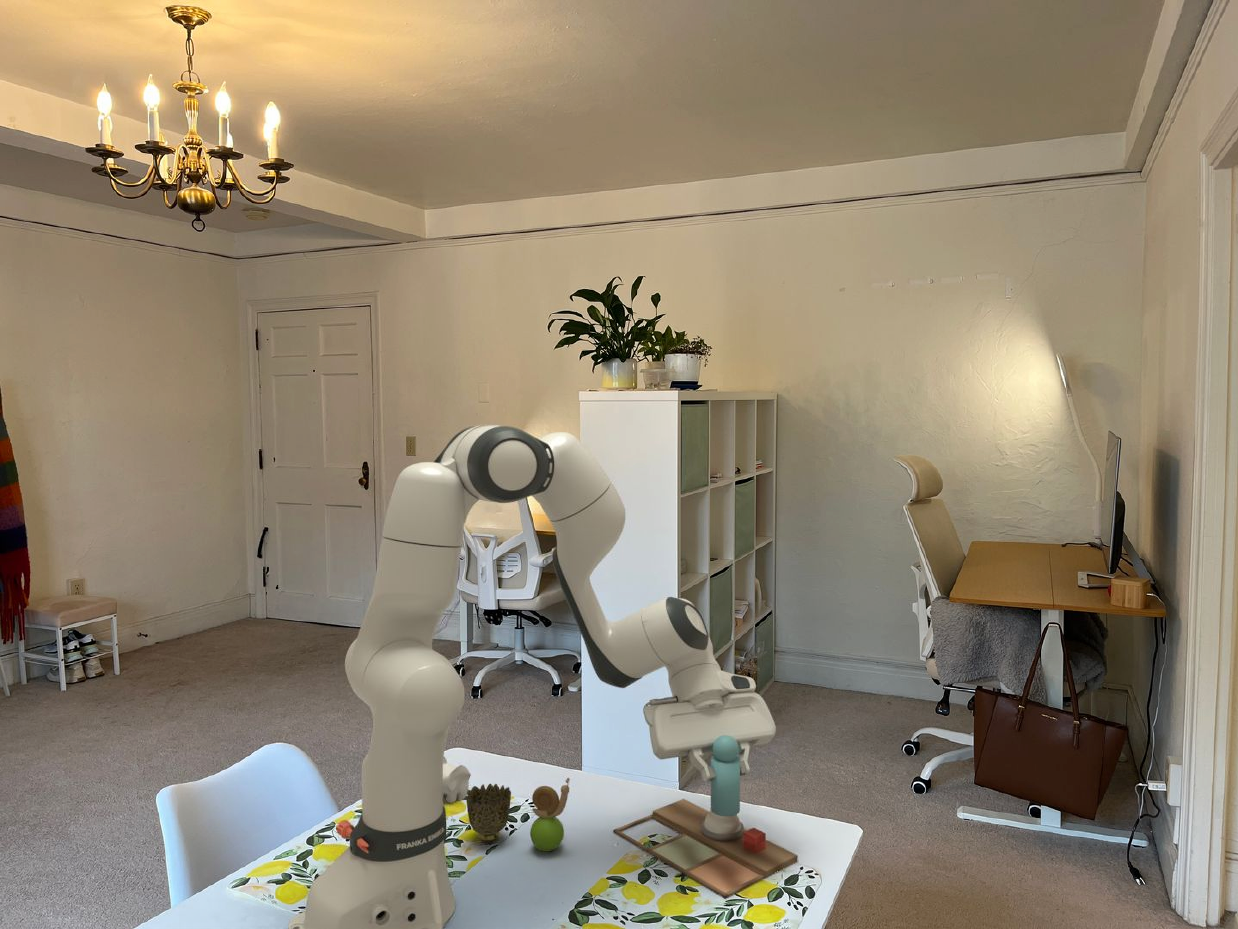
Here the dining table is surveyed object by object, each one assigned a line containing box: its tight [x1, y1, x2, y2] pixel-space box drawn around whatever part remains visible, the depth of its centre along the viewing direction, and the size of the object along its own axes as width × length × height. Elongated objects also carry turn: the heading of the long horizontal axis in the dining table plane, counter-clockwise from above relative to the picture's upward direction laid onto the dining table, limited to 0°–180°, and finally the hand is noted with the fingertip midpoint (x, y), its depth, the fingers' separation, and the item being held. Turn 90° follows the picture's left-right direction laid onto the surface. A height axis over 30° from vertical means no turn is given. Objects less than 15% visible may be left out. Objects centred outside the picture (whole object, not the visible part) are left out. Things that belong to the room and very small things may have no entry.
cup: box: [465, 783, 512, 844], centre depth 143 cm, size 8×7×8 cm
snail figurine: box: [529, 777, 571, 852], centre depth 140 cm, size 5×6×12 cm
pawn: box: [710, 735, 741, 817], centre depth 132 cm, size 4×4×12 cm
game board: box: [612, 798, 799, 899], centre depth 141 cm, size 16×26×6 cm, turn 40°
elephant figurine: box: [443, 756, 472, 804], centre depth 158 cm, size 8×10×7 cm
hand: (727, 777), depth 131 cm, fingers closed on pawn, 4 cm apart
